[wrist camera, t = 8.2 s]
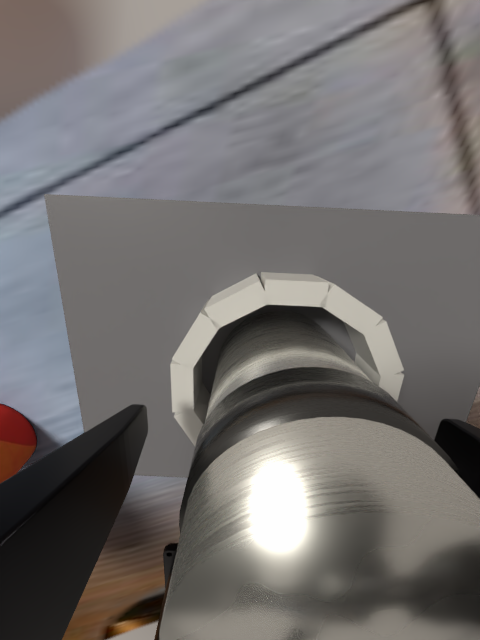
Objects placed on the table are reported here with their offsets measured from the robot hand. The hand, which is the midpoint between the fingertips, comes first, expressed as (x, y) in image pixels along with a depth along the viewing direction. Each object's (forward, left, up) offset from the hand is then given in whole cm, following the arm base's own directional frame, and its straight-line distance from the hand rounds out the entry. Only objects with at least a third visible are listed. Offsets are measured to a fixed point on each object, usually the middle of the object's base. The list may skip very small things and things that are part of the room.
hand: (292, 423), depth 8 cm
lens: (0, 0, -4) cm, 4 cm away
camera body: (0, 0, -8) cm, 8 cm away
